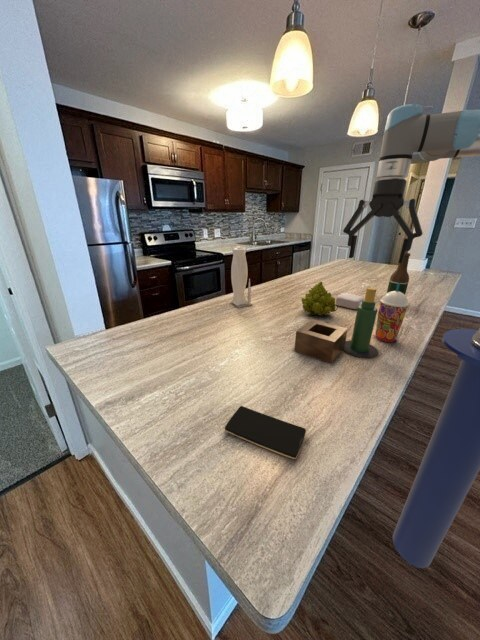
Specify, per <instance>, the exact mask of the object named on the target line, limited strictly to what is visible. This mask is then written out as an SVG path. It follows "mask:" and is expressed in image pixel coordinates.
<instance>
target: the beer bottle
mask: <svg viewBox="0 0 480 640" xmlns="http://www.w3.org/2000/svg"><path fill="white" fill-rule="evenodd" d="M410 257H411V253H410V252H405V256H404V260H403V262H402V263H399V262H398V265H397V267H396V270H395V271H394V272H392V274H391V276H390V277H389V282H388V284H387V285H388V286H387V290H386V293H388V292H391V291H396V288H397V284H398V283H400V286H399V290H398V291H399V292H402V293H403V294H404V295H405V296H406V293H407V290H408V286H409V281H410V275H409V272H408V266H409V261H410Z"/></svg>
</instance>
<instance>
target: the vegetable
mask: <svg viewBox="0 0 480 640" xmlns="http://www.w3.org/2000/svg"><path fill="white" fill-rule="evenodd" d="M301 304H302V308H303V310H304V312H306V313H308V316H309V317H310V316H314V315H317V316H321V317H325V316H327V315H328V314H331V313H333V312H334V313H335V312H336V311H337V310H338V309H339V306H338V305H336V297H333V296H332V294H331V291H330V292H328V290H327V289H326V288H325V286H324V285H323V281H319V282H318V283H316V284H315V285H314V286H313V287H310V289H308V293H305V297H301Z"/></svg>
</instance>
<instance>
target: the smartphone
mask: <svg viewBox="0 0 480 640" xmlns="http://www.w3.org/2000/svg"><path fill="white" fill-rule="evenodd" d="M224 432H226V433H228V434H230V435H233V436H235V437H237V438H239V439H242V440H244V441H246V442H249V443H251V444H253V445H256V446H258V447H261V448H263V449H266V450H268V451H271V452H273V453H276V454H278V455H280V456H283V457H286V458H290V459H291V460H296V459H297V458H298V456H299V453H300V451H301V449H302V447H303V443H304V440H305V436H306V432H307V429H306V428H305V427H302V426H299V425H297V424H293V423H290V422H288V421H284V420H282V419H278V418H276V417H273V416H271V415H267V414H265V413H263V412H262V413H261V412H259V411H256V410H253V409H251V408H248V407H246V406H243V405H240V406H239V407H238V408H237V410H236V411H235V412H234V413H233V415H232V416H231V417H230V419H229V420H228V422H227V423H226V424H225V426H224Z"/></svg>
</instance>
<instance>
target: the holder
mask: <svg viewBox="0 0 480 640" xmlns="http://www.w3.org/2000/svg"><path fill="white" fill-rule="evenodd" d="M348 332H349V328H347V327H343V326H340V325H336V324H332V323H329V322H324V321H321V320H317V319H313V318H312V319H310V320H309V321H308V322H306V323H305V324H304V325H302V326H301V327H299V328H298V329H297V330H295V337H294V339H295V340H294V341H295V342H294V347H293V351H294V352H297V353H300V354H303V355H306V356H309V357H311V358H314V359H317V360H320V361H323V362H326V363H329V364H332V363H333V362H334V360H336V358H338V356H339V355H340V354H341V353H342V351H343V348H344V347H345V342H346V341H347V336H348Z"/></svg>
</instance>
